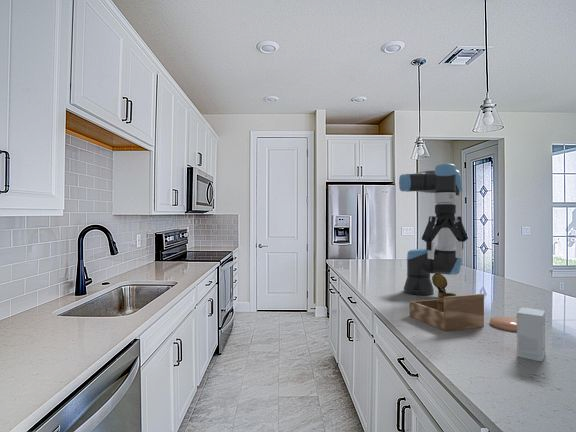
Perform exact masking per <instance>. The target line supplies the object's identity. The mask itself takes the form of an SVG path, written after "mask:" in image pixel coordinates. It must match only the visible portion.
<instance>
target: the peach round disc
mask: <svg viewBox="0 0 576 432" xmlns="http://www.w3.org/2000/svg"><path fill="white" fill-rule="evenodd" d="M489 324H490V325H491V326H492V327H494V328H496V329H500V330H503V331H509V332H514V333H515V332H516V333H517V317H512V316H511V317H510V316H509V317H508V316H492V317H490V318H489Z"/></svg>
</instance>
